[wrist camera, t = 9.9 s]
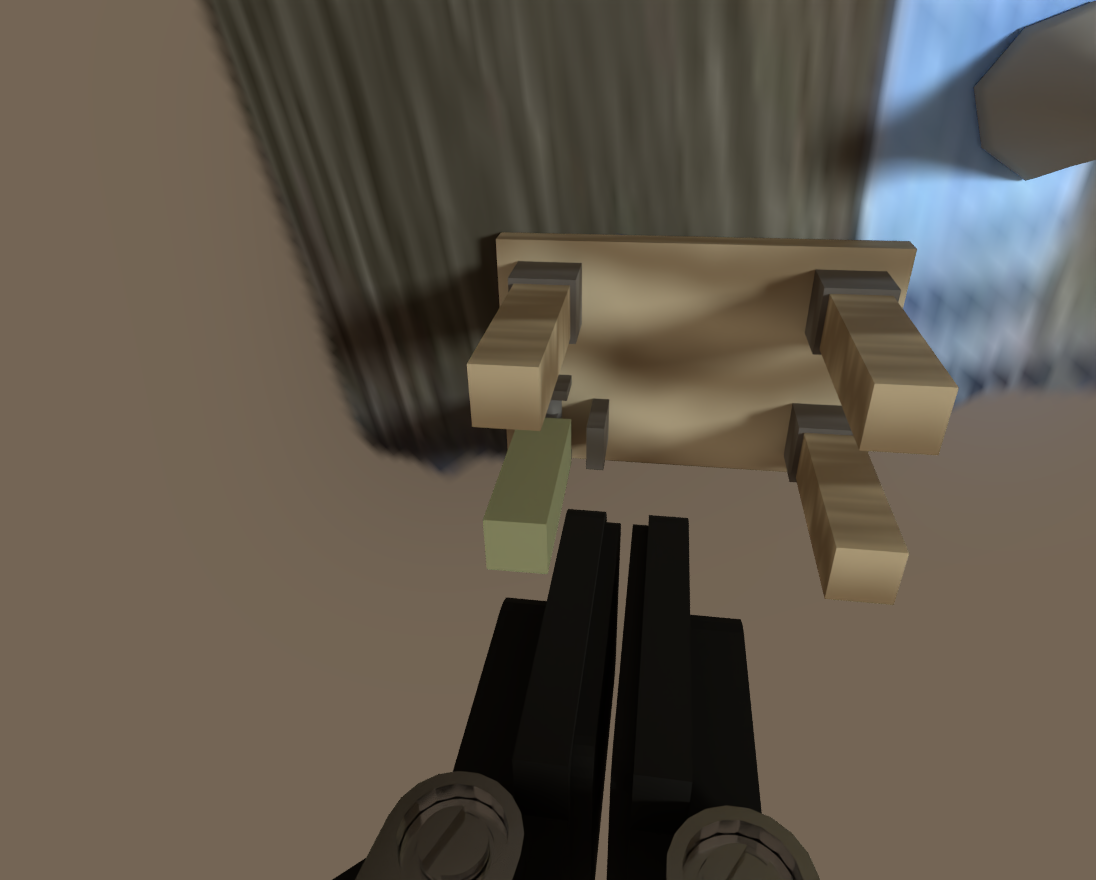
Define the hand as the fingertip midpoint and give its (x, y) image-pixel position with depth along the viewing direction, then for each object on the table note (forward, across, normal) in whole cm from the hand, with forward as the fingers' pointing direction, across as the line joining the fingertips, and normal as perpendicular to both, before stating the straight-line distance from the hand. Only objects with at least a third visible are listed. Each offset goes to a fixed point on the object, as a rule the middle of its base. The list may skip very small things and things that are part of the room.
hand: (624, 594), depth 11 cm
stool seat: (+33, -2, +11) cm, 35 cm away
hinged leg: (+31, +6, +15) cm, 35 cm away
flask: (+33, -18, -3) cm, 38 cm away
